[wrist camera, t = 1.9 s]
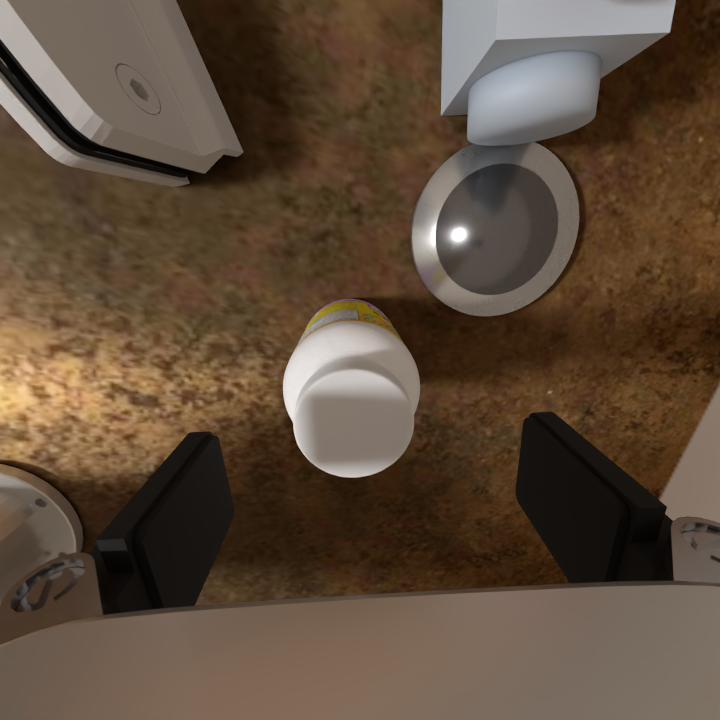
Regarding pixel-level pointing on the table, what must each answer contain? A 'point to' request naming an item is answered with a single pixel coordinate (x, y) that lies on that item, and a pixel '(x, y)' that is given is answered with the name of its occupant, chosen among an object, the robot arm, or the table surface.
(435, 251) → the gray metal plate
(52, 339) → the table surface
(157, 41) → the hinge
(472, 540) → the table surface
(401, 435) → the supplement bottle
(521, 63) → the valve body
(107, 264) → the table surface
